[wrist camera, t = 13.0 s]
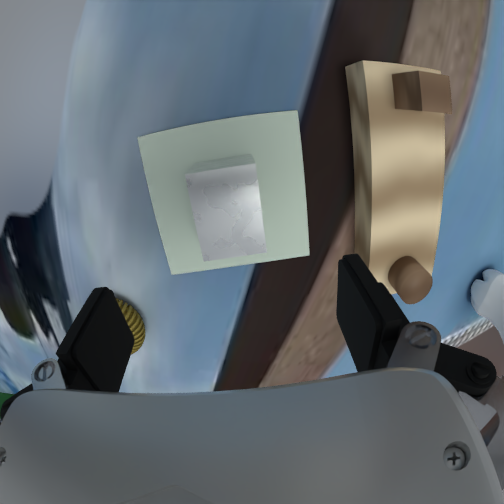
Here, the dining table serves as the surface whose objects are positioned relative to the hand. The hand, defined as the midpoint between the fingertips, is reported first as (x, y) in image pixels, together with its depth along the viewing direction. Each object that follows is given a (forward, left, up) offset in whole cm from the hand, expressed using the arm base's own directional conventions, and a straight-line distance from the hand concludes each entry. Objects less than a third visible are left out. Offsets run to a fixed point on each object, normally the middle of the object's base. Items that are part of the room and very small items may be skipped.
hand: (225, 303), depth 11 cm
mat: (0, 0, -16) cm, 16 cm away
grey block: (0, 0, -16) cm, 16 cm away
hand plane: (0, +16, -16) cm, 23 cm away
